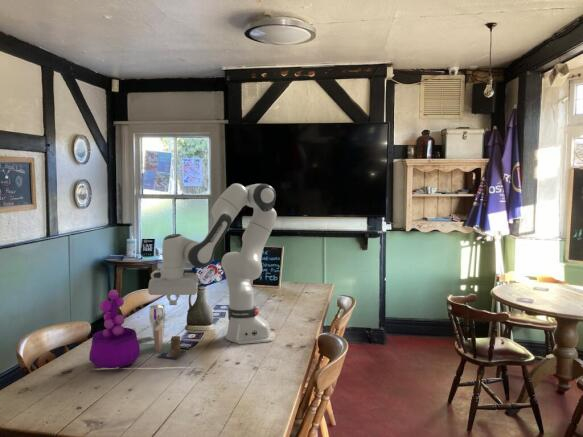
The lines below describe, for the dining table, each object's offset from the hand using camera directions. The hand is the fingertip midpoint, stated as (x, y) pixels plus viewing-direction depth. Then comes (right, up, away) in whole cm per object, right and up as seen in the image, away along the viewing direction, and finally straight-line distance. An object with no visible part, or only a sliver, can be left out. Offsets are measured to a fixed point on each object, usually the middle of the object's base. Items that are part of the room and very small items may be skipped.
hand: (173, 304), depth 204 cm
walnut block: (+3, -20, -6) cm, 21 cm away
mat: (-10, -19, +1) cm, 22 cm away
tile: (-6, -19, +2) cm, 20 cm away
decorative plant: (-19, -21, -15) cm, 32 cm away
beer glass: (-11, -18, +15) cm, 26 cm away
